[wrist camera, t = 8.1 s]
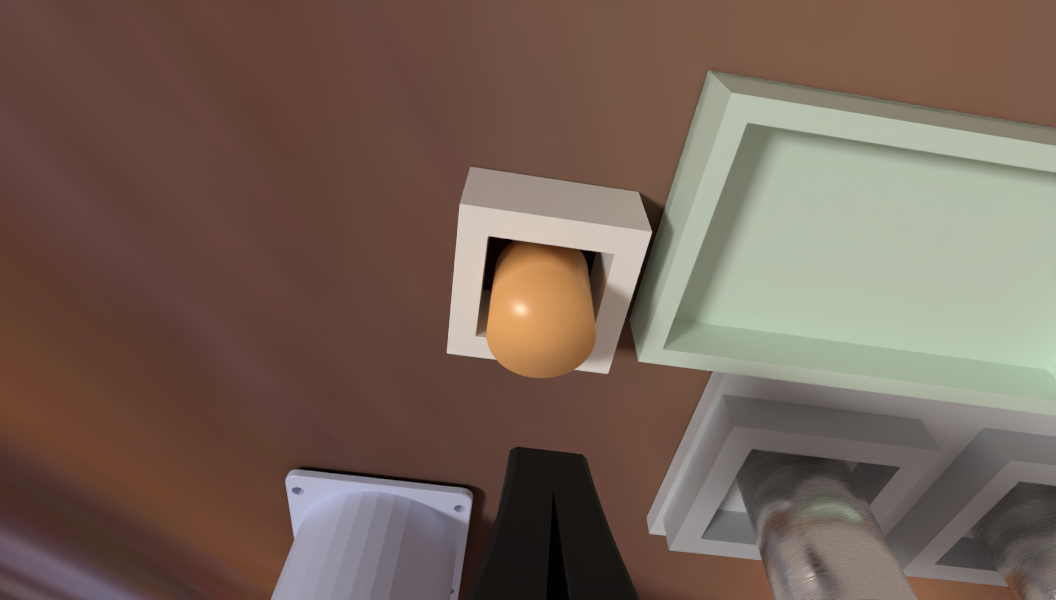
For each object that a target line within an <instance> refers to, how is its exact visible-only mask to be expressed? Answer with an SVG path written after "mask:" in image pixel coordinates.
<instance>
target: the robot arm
mask: <svg viewBox="0 0 1056 600" xmlns="http://www.w3.org/2000/svg"><path fill="white" fill-rule="evenodd" d="M285 482H286V488H287V495H288V501H289V508H290V514H291V521H292V527H293V533H294V542H293V545H292V547H291V550H290V552H289V555H288V557H287V560H286V562H285V565H284V568H283V570H282V573H281V575H280V578H279V580H278V583H277V585H276V588H275V590H274V593H273V595H272V598H271V600H458V594H459V587H460V581H461V574H462V568H463V561H464V554H465V548H466V541H467V535H468V528H469V521H470V515H471V508H472V501H473V493H472V492H471V491H470V490H468V489H466V488H460V487H451V486H442V485H433V484H425V483H416V482H407V481H398V480H389V479H380V478H371V477H362V476H353V475H344V474H335V473H327V472H318V471H309V470H300V469H296V470H292V471H290V472H289V473H288V475H287V478H286V481H285ZM465 600H640V599H639V596H638V594H637V592H636V590H635V588H634V585H633V583H632V581H631V579H630V576H629V574H628V572H627V569H626V567H625V565H624V562H623V560H622V558H621V555H620V553H619V551H618V548H617V546H616V543H615V541H614V538H613V536H612V533H611V531H610V528H609V526H608V523H607V520H606V517H605V515H604V512H603V509H602V507H601V504H600V501H599V498H598V495H597V492H596V489H595V486H594V483H593V480H592V477H591V473H590V470H589V466H588V463H587V459H586V458H585V457H584V456H583V455H582V454H575V453H566V452H558V451H549V450H541V449H532V448H524V447H515V448H513V449H511V450H510V453H509V458H508V463H507V468H506V473H505V478H504V483H503V489H502V494H501V499H500V504H499V509H498V514H497V517H496V520H495V523H494V526H493V528H492V531H491V534H490V537H489V540H488V543H487V546H486V549H485V551H484V554H483V557H482V559H481V562H480V565H479V567H478V569H477V572H476V574H475V577H474V579H473V581H472V584H471V586H470V589H469V591H468V593H467V596H466V598H465Z"/></svg>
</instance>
